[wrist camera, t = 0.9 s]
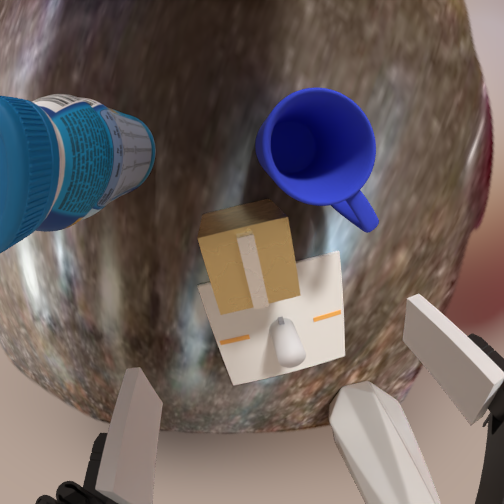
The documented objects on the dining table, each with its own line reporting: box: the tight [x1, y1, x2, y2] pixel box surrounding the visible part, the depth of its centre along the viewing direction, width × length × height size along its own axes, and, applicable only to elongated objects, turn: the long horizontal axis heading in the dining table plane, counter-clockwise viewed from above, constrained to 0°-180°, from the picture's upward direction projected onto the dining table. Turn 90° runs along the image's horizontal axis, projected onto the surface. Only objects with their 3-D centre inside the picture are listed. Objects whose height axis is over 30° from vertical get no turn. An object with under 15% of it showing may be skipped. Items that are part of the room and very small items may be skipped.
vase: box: [329, 381, 441, 504], centre depth 26 cm, size 12×12×33 cm
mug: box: [255, 88, 379, 233], centre depth 23 cm, size 8×12×10 cm
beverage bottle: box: [0, 94, 156, 253], centre depth 15 cm, size 8×8×20 cm
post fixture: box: [197, 251, 345, 386], centre depth 31 cm, size 16×16×6 cm
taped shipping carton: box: [197, 199, 301, 315], centre depth 25 cm, size 7×7×9 cm
